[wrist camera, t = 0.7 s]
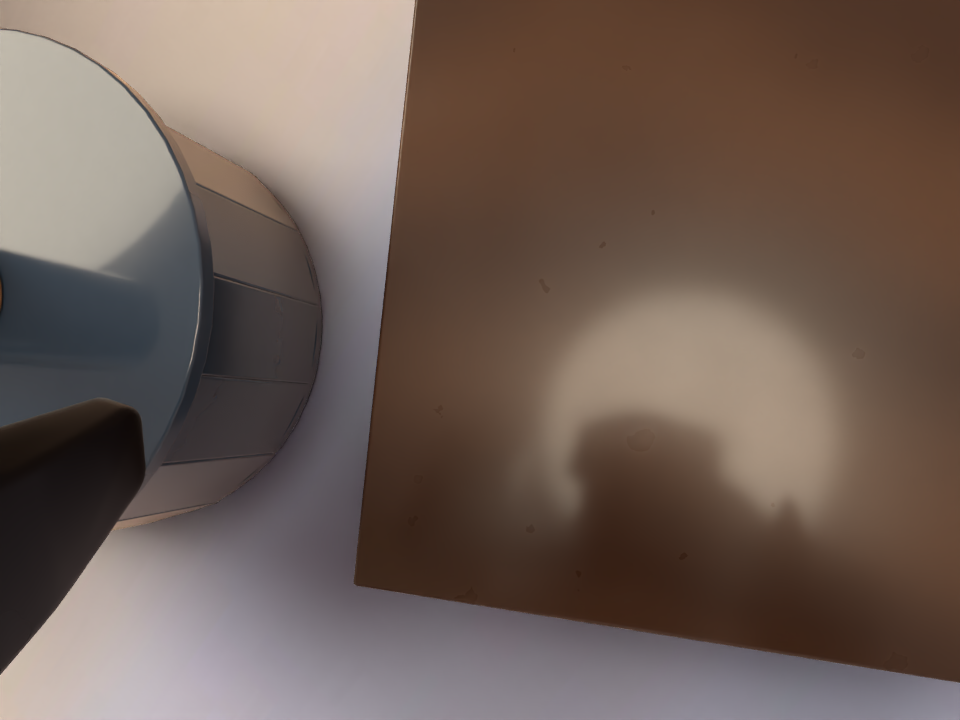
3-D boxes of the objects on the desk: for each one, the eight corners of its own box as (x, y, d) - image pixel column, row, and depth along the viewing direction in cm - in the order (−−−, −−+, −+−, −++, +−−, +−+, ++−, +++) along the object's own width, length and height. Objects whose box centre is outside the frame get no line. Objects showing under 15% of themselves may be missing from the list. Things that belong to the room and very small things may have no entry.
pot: (300, 541, 23) (160, 588, 17) (-28, 492, 26) (-254, 517, 20) (342, 153, 24) (221, 61, 18) (15, 141, 26) (-192, 57, 20)
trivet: (985, 654, 19) (1038, 696, 17) (394, 564, 23) (351, 585, 20) (1034, 41, 20) (1093, -23, 17) (449, 39, 23) (415, -15, 20)
